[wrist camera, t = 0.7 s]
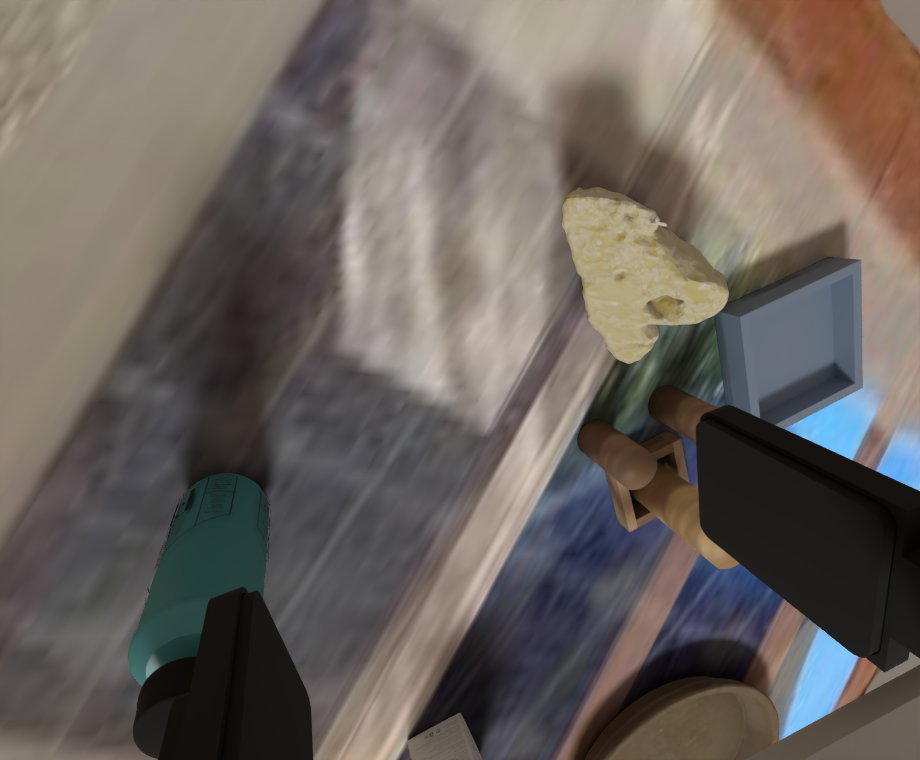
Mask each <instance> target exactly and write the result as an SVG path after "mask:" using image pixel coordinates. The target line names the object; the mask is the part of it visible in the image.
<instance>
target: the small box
mask: <svg viewBox="0 0 920 760" xmlns="http://www.w3.org/2000/svg"><path fill="white" fill-rule="evenodd" d="M408 747H409V752H410V756H411V760H482V758H481V755H480V753H479V750H478V748H477V746H476V744H475V742H474V739H473V737H472V735H471V733H470V731H469V729H468V727H467V724H466V722H465V720H464V718H463V716H462V714H461V713H458V714H456V715H454V716H452V717H450V718H448V719H446V720H444V721H442V722H441V723H439V724H437V725H435V726H433V727H431V728H429V729H428V730H426V731H424V732H422V733H420V734H419V735H417V736H415V737H413V738H412V739H410V740H408Z"/></svg>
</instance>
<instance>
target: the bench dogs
mask: <svg viewBox="0 0 920 760" xmlns="http://www.w3.org/2000/svg"><path fill="white" fill-rule="evenodd" d="M717 408H718V407H715V406H713V405H711V404H709V403H707V402H705V401H703V400H700V399H698V398H696V397H694V396H692V395H690V394H688V393H686V392H683V391H681V390H679V389H677V388H675V387H673V386H663V387H660V388H659V389H657V390H656V391H655V392H654V393H653V395H652V396H651V398H650V400H649V404H648V410H649V413H650V415H651V416H652V417H653V418H654V419H656V420H658V421H659V422H661V423H663V424H665V425H666V426H668V427H670V428H671V429H673V430H675V431H677V432H678V433H680V434H682V435H684V436H685V437H687V438H689V439H690V440H692V441H694V442H696V426H697V424H698V423H699V422H700V418H701V416H702V415H703V414H704V413H706V412H709V411H712V410H714V409H717ZM577 442H578V446H579V448H580V450H581V451H582V452H583V453H585V454H586V455H587V456H588V457H589V458H591V459H592V460H593V461H594V462H595V463H597V464H598V465H599V466H600V467H601V468H603V469H604V470H605V471H606V472H607V473H609V474H610V475H611V476H612V477H613V478H615V479H616V480H617V481H618V482H619V483H621V484H622V485H623V486H624V487H625V488H627V489H630V490H637V489H640V488H643V487H644V486H646V485H647V484H648V483H649V482H650V481H651V480H652V479H653V477H654V475H655V473H656V470H657V460H656V458H655V456H654V455H653V454H652V453H650V452H649V451H647V450H646V449H644V448H643V447H642V446H640V445H639V444H637V443H636V442H634V441H633V440H631V439H630V438H628V437H627V436H625V435H624V434H622V433H621V432H619V431H618V430H617V429H615V428H614V427H612V426H611V425H609V424H608V423H606V422H605V421H603V420H592V421H590V422H588V423H587V424H585V425H584V426H583V428H582V429H581V430H580V432H579V435H578V440H577Z"/></svg>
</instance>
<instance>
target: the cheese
mask: <svg viewBox="0 0 920 760" xmlns="http://www.w3.org/2000/svg"><path fill="white" fill-rule="evenodd" d="M562 213H563V219H562V222H561V223H562V226H563V228H564V230H565V232H566V236H567V241H568V242H569V245H570V248H571V252H572V259H573V261H574V263H575V266H576V271H577V273H578V274H579V275H580V276H581V278H582V284H583V297H584V300H585V308H586V310H587V311H588V313H587V319H588V320H589V322H590V324H591V325H592V327H593V328H594V329H596V330H598V331H599V332H600V333H601V334H602V336H603V339H604V342H605V345H606V347H607V349H608V350H609V351H610V352H611V353H612V354H613V356H614V357H615V358H616V359H618V360H620V361H622V362H625V363H627V364H631V363H633V362H634V361H638V360H640V359H641V358H642V357H643V356H644V355H645V354H646V353H647V352H649V351H650V350H651V349H652V347H653V345H654V343H655V341H656V340H657V339H658V336H659V332H658V328H657V326H656V324H663V325H681V324H696V323H699V322H701V321H703V320H705V319H707V318H709V317H712V316H714V315H716V314H717V313H718V312H720V311H721V310H722V309H723V308H724V307H725V305H726V303H727V301H728V296H729V290H728V287H727V284H726V280H725V278H724V276H723V274H722V273H720V272H719V271H718V270H715V269H713V267H712V266H711V265H710V264H709V263H708V261H707V260H706V259H705V257H704V256H703V255H702V253H701V252H700V251H698V250H697V249H696V248H695V247H694V246H693V245H691V244H689V243H687V242H685V241H682V240H681V239H679V238H678V237H677V236H676V235H675V234H674V233H673V232H671V231H670V230H668V229H663V226H665V227H666V226H667V223H665V222H664V223H662V222H660V219H659V217H658V216H657V214H656V212H655V211H654V210H652V209H649V208H647V207H645V206H643V205H642V204H640V203H638V202H636V201H634V200H632V199H630V198H629V197H627V196H625V195H623V194H621V193H618V192H612V191H609V190H606V189H603V188H600V187H594V188H590V189H586V190H583V189H582V188H581V187H580V188H578V189H576V190H574V191H573V192H570V193H569V194H568V195H567V196H566V198H565V199H564V204H563V209H562Z"/></svg>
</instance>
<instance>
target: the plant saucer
mask: <svg viewBox="0 0 920 760" xmlns="http://www.w3.org/2000/svg"><path fill="white" fill-rule="evenodd" d="M778 738H779V719H778V714H777V711H776V709H775V707H774V705H773V703H772V701H771V700H770V699H769V698H768V696H766V695H765V694H764V693H763V692H762V691H760V690H759V689H757V688H755V687H753V686H751V685H748V684H745V683H742V682H739V681H736V680H732V679H722V678H713V677H706V676H698V677H689V678H684V679H680V680H676V681H673V682H670V683H668V684H665V685H663V686H660V687H658V688H656V689H654V690H652V691H650V692H649V693H647V694H645V695H643V696H642V697H640V698H639V699H637V700H636V701H635V702H633V703H632V704H631V705H629V706H628V707H627V708H626V709H624V710H623V711H622V712H621V713H620V714H618V715H617V716H616V717H615V718H614V719H613V720H612V721H611V722H610V724H609V725H608V726H607V727H606V728H605V729H604V730H603V732H602V733H601V734H600V735H599V736H598V738H597V739H596V741H595V742H594V744H593V745H592V746H591V748H590V750H589V752H588V753H587V755H586V757H585V759H584V760H746V759H748V758H749V757H751V756H753V755H755V754H757V753H758V752H760V751H762V750H764V749H766V748H768V747H769V746H771V745H773V744H775V743H777V742H778Z"/></svg>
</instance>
